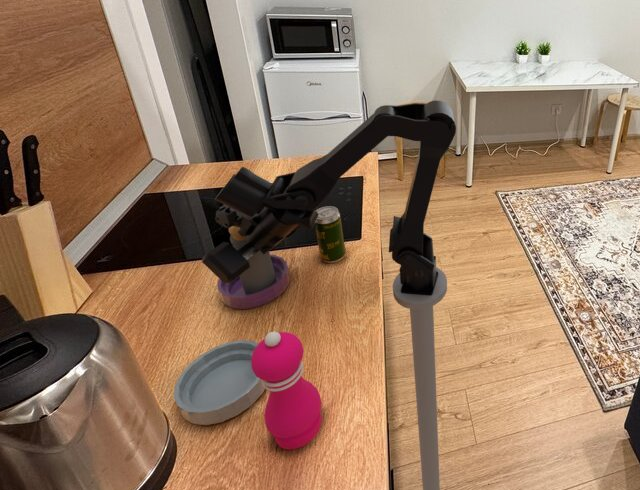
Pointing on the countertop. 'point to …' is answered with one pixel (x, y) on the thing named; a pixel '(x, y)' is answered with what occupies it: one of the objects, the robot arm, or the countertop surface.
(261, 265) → the bottle
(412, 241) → the robot arm
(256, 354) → the pepper mill
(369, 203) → the countertop surface
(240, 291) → the bowl
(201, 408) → the bowl
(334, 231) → the beer can
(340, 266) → the countertop surface
